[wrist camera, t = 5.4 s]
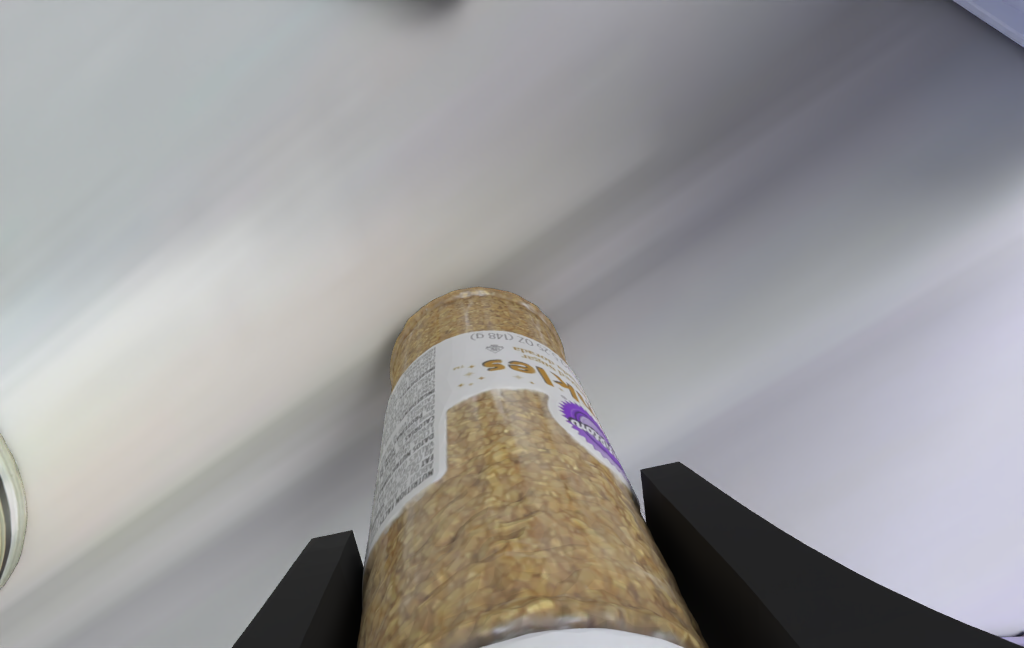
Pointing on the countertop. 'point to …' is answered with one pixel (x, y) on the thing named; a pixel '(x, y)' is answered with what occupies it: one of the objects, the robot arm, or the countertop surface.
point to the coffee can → (10, 513)
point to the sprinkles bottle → (505, 498)
